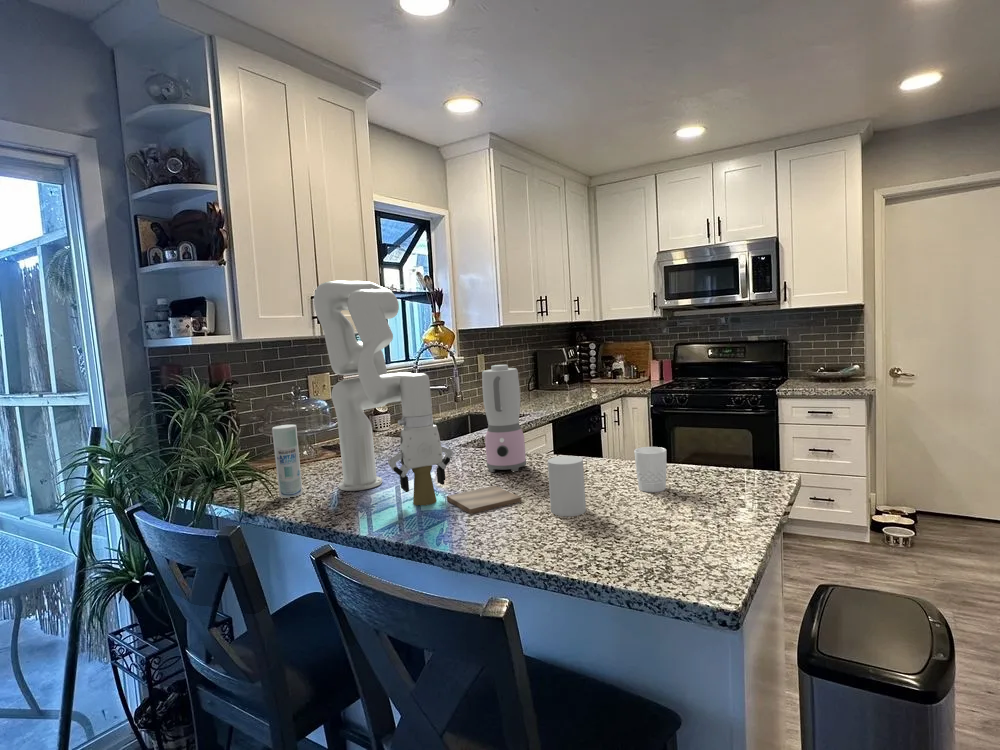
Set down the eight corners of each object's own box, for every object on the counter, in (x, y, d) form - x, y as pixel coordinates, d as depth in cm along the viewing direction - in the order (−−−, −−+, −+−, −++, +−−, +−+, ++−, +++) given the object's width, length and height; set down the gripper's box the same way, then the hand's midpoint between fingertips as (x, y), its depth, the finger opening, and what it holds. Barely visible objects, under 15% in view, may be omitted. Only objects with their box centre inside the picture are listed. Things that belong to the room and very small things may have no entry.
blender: (491, 464, 185) (483, 365, 182) (528, 462, 183) (521, 362, 180) (481, 477, 169) (473, 369, 167) (522, 476, 167) (514, 366, 165)
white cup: (633, 492, 144) (631, 453, 143) (638, 483, 151) (636, 446, 150) (666, 493, 141) (664, 453, 140) (669, 484, 148) (667, 446, 147)
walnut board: (447, 500, 148) (446, 496, 148) (494, 489, 155) (494, 485, 155) (470, 514, 136) (470, 509, 136) (521, 501, 143) (521, 497, 143)
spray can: (302, 490, 169) (295, 423, 167) (304, 496, 163) (297, 426, 161) (278, 494, 166) (271, 426, 164) (279, 500, 160) (272, 429, 158)
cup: (588, 505, 136) (585, 455, 135) (582, 517, 128) (579, 464, 127) (555, 504, 139) (552, 455, 138) (547, 515, 131) (543, 464, 130)
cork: (438, 497, 151) (435, 456, 150) (433, 505, 145) (430, 462, 144) (416, 498, 152) (412, 458, 151) (410, 506, 146) (406, 463, 145)
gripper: (390, 428, 140) (396, 497, 141) (454, 418, 148) (460, 483, 149) (380, 425, 146) (386, 490, 147) (443, 415, 154) (448, 478, 156)
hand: (423, 487), depth 148 cm, fingers open, 9 cm apart
